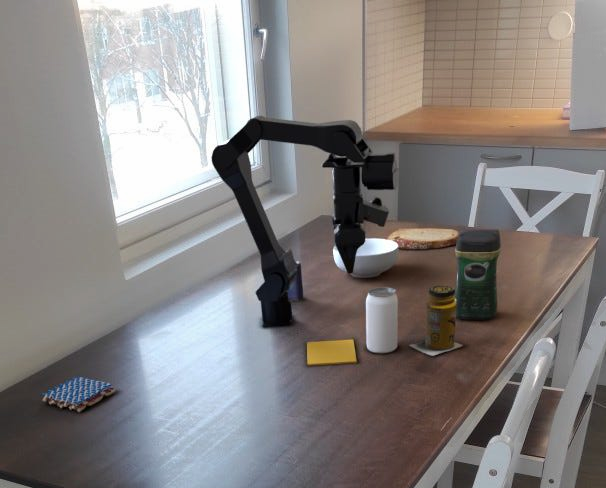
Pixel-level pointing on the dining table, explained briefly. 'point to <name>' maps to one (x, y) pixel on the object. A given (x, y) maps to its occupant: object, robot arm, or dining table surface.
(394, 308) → the can
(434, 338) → the condiment
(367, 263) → the cereal bowl
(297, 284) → the flask
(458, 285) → the coffee jar
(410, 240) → the slice of bread
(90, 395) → the woven mat
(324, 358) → the cloth
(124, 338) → the dining table surface
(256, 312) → the dining table surface
